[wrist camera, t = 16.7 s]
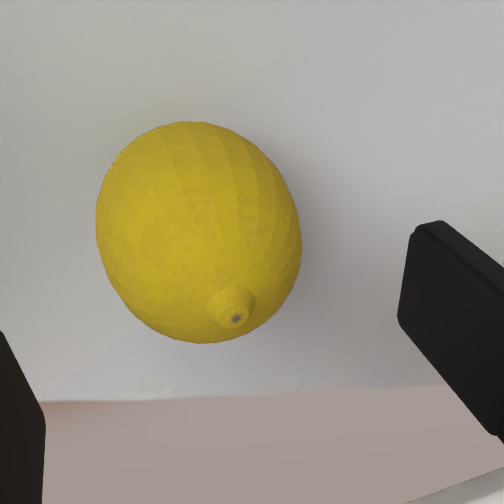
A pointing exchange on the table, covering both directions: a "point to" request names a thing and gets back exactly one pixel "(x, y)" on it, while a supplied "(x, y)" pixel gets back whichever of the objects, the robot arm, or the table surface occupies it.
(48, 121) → the table surface
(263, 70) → the table surface
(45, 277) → the table surface
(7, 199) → the table surface
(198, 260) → the lemon
